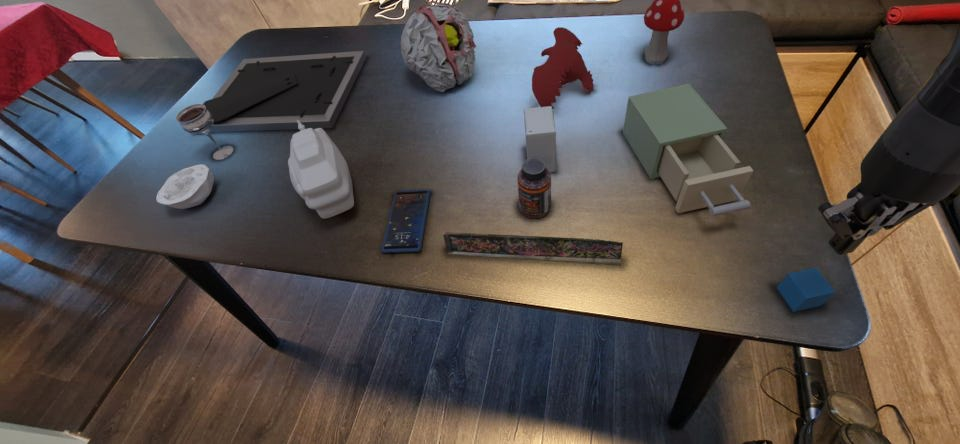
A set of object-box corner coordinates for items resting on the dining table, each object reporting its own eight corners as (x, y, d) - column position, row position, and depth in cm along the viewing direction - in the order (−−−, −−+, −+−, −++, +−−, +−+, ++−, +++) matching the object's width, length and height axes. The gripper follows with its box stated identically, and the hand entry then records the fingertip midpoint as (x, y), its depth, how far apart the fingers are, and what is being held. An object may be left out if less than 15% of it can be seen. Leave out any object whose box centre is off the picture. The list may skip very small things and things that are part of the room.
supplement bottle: (515, 216, 80) (510, 174, 71) (525, 193, 83) (522, 150, 75) (545, 223, 78) (545, 181, 70) (555, 199, 82) (555, 156, 73)
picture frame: (196, 133, 112) (332, 128, 105) (187, 122, 109) (326, 116, 102) (247, 65, 130) (366, 58, 123) (240, 54, 127) (362, 46, 120)
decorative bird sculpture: (585, 70, 113) (547, 27, 107) (614, 50, 105) (575, 3, 100) (557, 141, 97) (511, 95, 92) (588, 123, 90) (541, 73, 85)
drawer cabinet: (712, 165, 81) (727, 128, 74) (650, 179, 81) (659, 143, 74) (678, 120, 90) (689, 83, 83) (622, 132, 90) (628, 96, 83)
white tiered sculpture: (350, 162, 96) (320, 104, 84) (370, 216, 85) (339, 159, 73) (303, 181, 94) (265, 124, 82) (317, 239, 83) (276, 184, 71)
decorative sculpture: (424, 112, 116) (430, 89, 96) (385, 43, 114) (382, 5, 94) (482, 82, 119) (499, 53, 99) (445, 14, 117) (455, -29, 97)
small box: (556, 172, 86) (556, 132, 77) (528, 175, 86) (525, 135, 78) (552, 145, 91) (552, 104, 82) (526, 148, 91) (523, 107, 83)
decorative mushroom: (673, 70, 101) (689, 6, 89) (635, 68, 103) (645, 6, 91) (674, 47, 106) (690, -16, 94) (638, 46, 109) (649, -16, 97)
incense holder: (447, 254, 77) (440, 237, 73) (448, 248, 78) (442, 231, 74) (620, 265, 71) (624, 247, 67) (620, 258, 72) (624, 240, 67)
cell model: (233, 185, 97) (214, 163, 92) (191, 224, 91) (169, 203, 85) (203, 174, 101) (184, 153, 95) (162, 211, 94) (139, 191, 89)
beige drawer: (754, 221, 72) (772, 192, 66) (691, 235, 72) (703, 207, 66) (701, 151, 83) (712, 121, 77) (647, 163, 83) (654, 134, 77)
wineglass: (239, 154, 104) (207, 114, 94) (211, 166, 102) (176, 127, 93) (234, 139, 108) (203, 99, 98) (207, 151, 106) (174, 112, 97)
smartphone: (430, 188, 86) (420, 250, 77) (431, 191, 87) (421, 252, 78) (394, 190, 87) (380, 251, 78) (395, 193, 88) (381, 254, 79)
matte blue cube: (821, 306, 62) (836, 292, 59) (793, 312, 62) (806, 298, 59) (802, 281, 65) (816, 267, 62) (775, 287, 65) (787, 273, 62)
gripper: (896, 186, 38) (808, 285, 52) (1039, 154, 38) (914, 260, 52) (837, 134, 43) (770, 236, 56) (964, 105, 43) (867, 214, 56)
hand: (839, 248), depth 54 cm, fingers closed
